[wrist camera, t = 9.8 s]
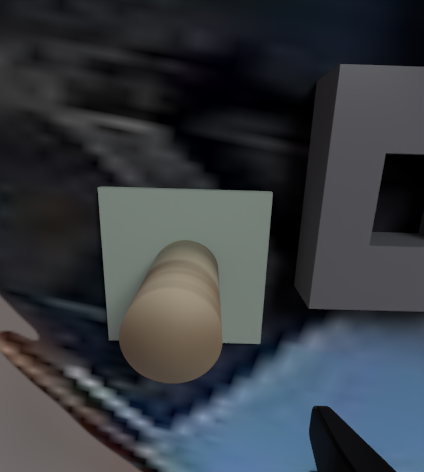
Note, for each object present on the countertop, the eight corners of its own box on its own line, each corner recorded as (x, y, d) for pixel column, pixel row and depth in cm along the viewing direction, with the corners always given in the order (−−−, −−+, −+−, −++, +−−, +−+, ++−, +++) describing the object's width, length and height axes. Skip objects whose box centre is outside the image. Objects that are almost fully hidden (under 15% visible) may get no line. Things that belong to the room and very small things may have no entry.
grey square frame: (447, 289, 19) (489, 313, 16) (293, 285, 19) (308, 308, 16) (500, 86, 16) (565, 71, 13) (316, 80, 16) (340, 64, 13)
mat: (258, 338, 20) (260, 343, 20) (111, 334, 20) (109, 340, 19) (270, 191, 17) (272, 192, 17) (101, 186, 17) (97, 187, 17)
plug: (217, 301, 19) (220, 384, 12) (154, 299, 19) (121, 382, 12) (219, 241, 18) (224, 294, 11) (152, 239, 18) (116, 291, 11)
